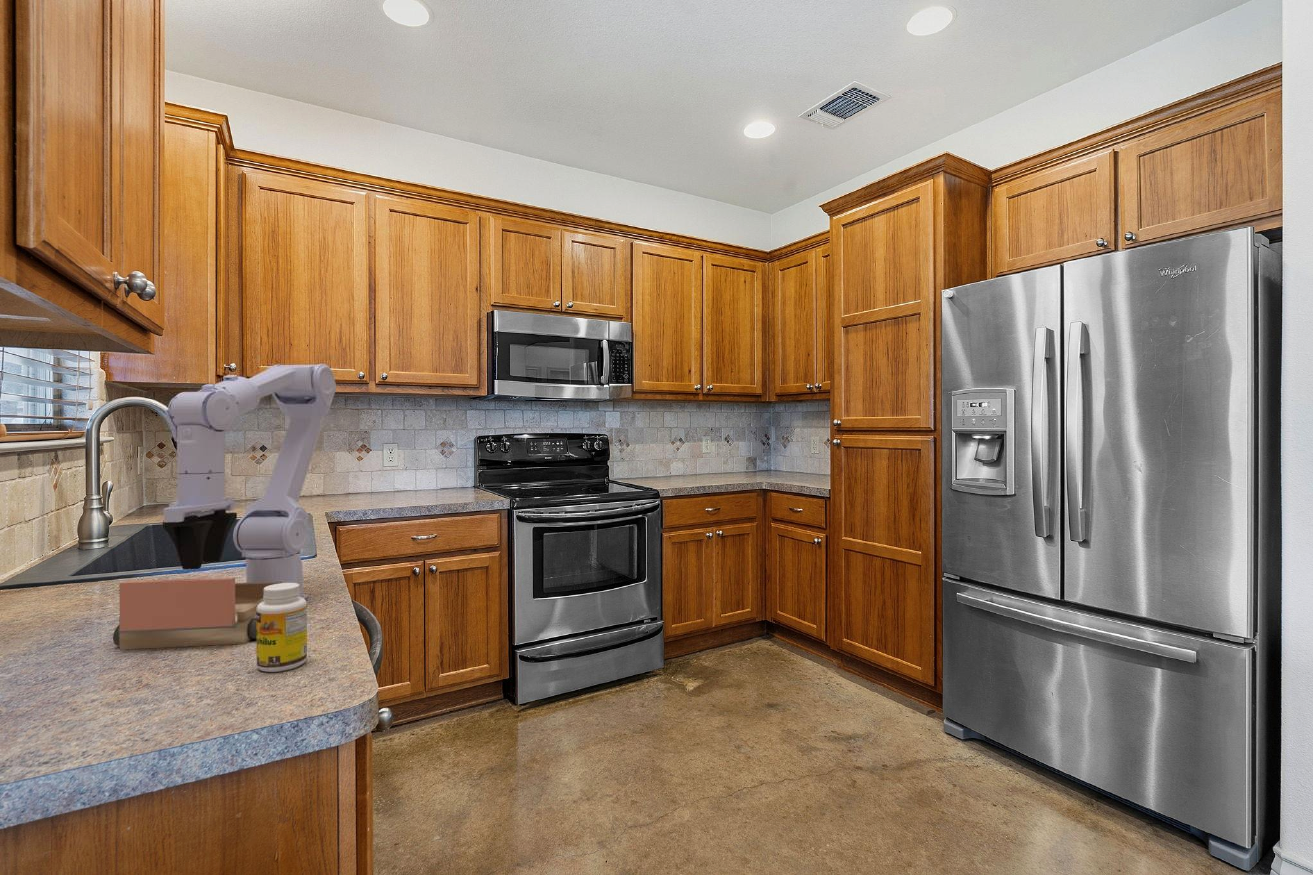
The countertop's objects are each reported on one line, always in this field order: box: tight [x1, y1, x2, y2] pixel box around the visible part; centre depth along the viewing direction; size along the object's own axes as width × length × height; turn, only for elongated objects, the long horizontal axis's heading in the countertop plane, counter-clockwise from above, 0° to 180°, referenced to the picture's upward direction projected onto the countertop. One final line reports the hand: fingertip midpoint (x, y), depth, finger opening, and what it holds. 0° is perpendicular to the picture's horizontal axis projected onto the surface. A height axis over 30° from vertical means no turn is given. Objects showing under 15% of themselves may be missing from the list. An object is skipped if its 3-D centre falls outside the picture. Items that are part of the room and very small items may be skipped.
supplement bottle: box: [256, 583, 308, 673], centre depth 81 cm, size 6×6×10 cm
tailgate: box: [118, 577, 237, 633], centre depth 87 cm, size 1×14×7 cm, turn 99°
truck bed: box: [112, 582, 282, 650], centre depth 94 cm, size 12×18×6 cm, turn 98°
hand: (202, 565), depth 93 cm, fingers open, 5 cm apart
